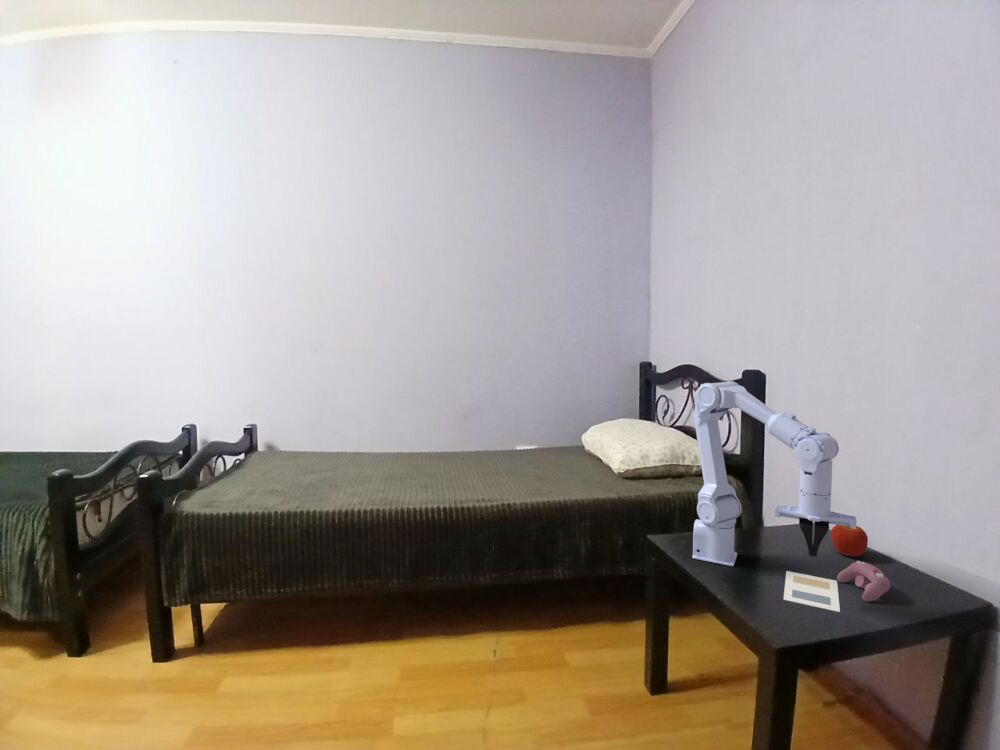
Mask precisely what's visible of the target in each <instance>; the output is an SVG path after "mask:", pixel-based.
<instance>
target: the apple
mask: <svg viewBox="0 0 1000 750" xmlns="http://www.w3.org/2000/svg"><path fill="white" fill-rule="evenodd" d="M830 539H831V542H832V545H833V546H834V549H835V551H837V552H838V553H840V554H841V555H844V556H847V557H852V558H858V557H861V556H862V555H863V554H864V553H865V551H866V550H867V548H868V543H869V541H868V540H869V537H868V534H867V533H866V531H864V529H863V528H862V527H861V526H858V525H856V529H855V528H850V527H849V526H842V525H834V526H833V527H832V528H831V530H830Z"/></svg>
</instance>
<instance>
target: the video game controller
mask: <svg viewBox="0 0 1000 750" xmlns="http://www.w3.org/2000/svg"><path fill="white" fill-rule="evenodd" d="M836 579H837V580H836V581H837V582H839V583H848V582H850V581H852V580H855V581H854V584H855V586H856V587H859V589H860V588H861V589H864V591H863V592H862V595H861V598H862V600H863V601H864V602H868V603H869V602H874V601H876V600H878V599H879V598H880V597H882V596H883V595H884V594H885V593H888V591H889V590H890V589H891V581H890V579H889V578H888V577H886V575H885V574H884V572H883V571H882V570H881V569H879V568H878V567H877V566H875V565H873V564H870V563H867V562H864V561H860V560H856V562H853V563H851V564H850V565H849V566H848V567H846V568H844V569H843V570H841V571H840V572H838V574H837V578H836ZM869 581H870V582H869Z"/></svg>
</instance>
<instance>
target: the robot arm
mask: <svg viewBox="0 0 1000 750" xmlns="http://www.w3.org/2000/svg"><path fill="white" fill-rule="evenodd" d="M693 395H694V396H693V397H694V403H695V405H694V410H693V420H694V429H695V433H696V434H695V435H696V440H697V447H698V453H699V459H700V460H699V461H700V467H701V470H702V471H701V472H702V478H703V486H702V487H701V489H700V490H699V492H698V494H697V500H698V501H697V506H696V513H697V516H698V518H699V519H695V520H694V523H693V533H692V534H693V535H692V536H693V537H692V538H693V539H692V559H694V560H699V561H704V562H710V563H715V564H720V565H724V566H729V567H734V566H735V562H736V560H737V556H738V553H737V552H735V527H736V526H735V525H736V523H737V518H738V517H740V516H741V513H742V510H743V507H742V504H741V501H740V500H739V497H738V496H737V492H736V489H735V488H734V487H733V486H732V485H731V484H730V483H728V477H727V469H726V464H725V463H726V462H725V457H724V451H723V444H722V438H721V432H720V426H719V420H720V418H722V416H723V415H724V414H726V412H727V411H729V410H731V409H739V410H740V411H742V412H744V413H745V414H747V415H749V416H751V417H752V418H754V419H756V420H758V421H759V422H760V423H763V424H764V425H765V426H767V430H768V433H769V435H771V436H773V437H774V438H775V439H777V440H779V441H780V442H781V443H783V444H785V446H787V447H789V448H791V449H792V450H793V451H794V454H795V456H796V458H797V459H798V462H799V465H798V466H799V484H798V485H799V487H798V506H790V505H789V506H786V505H777V504H775V506H774V517H776V518H777V517H778V518H781V517H782V518H790V519H795V520H796V519H797V520H798V521H799V522H798V524H799V525H798V526H799V527H800V530H801V531H802V534H803V536H804V539H805V543H806V546H807V550H808V556H809V557H814V558H816V557H817V556H818V551H819V548H820V545H821V544H822V541H823V539H824V538H825V536H826V535H827V533H828V531H829V530H830V525H834V526H836V525H842V526H849V527H850V528H855V529H856V526H857V517H856V516H855V515H850V514H849V515H848V514H845V513H844V514H843V513H839V512H835V511H831V509H832V508H831V507H832V505H831V504H832V502H831V501H832V485H833V484H832V483H833V482H832V481H833V459H835V458H836V457H837V456H838V453H839V449H840V447H839V443H838V442H837V440H836V438H834V436H832V435H831V434H830V433H828V432H824V431H823V432H822V431H820V432H818V431H816V430H817V429H816V428H814V427H813V426H809V425H807V424H806V423H804V422H801V421H800V420H799V419H797V415H796V414H794V413H792V412H791V413H788V412H780V413H778V412H776V411H774V410H773V408H771V407H769V406H768V405H766V404H765V403H763V401H761V400H759V399H758V398H756V397H755V396H754V395H753V394H751V393H750V392H748V391H747V389H746V388H745V386H742V385H739V383H737V382H735V381H732V380H729V381H723V382H721V381H720V382H712V383H711V382H704V383H702V384H701V385H700V386H699V387H698V388H697V389H696V391H695V392H694V393H693ZM813 524H814V525H813ZM813 526H814V527H813ZM813 530H814V532H813ZM813 533H814V536H813Z"/></svg>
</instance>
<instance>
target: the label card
mask: <svg viewBox="0 0 1000 750" xmlns="http://www.w3.org/2000/svg"><path fill="white" fill-rule="evenodd" d="M783 591H784V592H783V600H784V601H788V602H792V603H796V604H801V605H805V606H811V607H815V608H819V609H824V610H827V611H828V610H829V611H833V612H837V613H841V608H840V607H841V605H840V598H839V587H838V580H836V579H830V578H824V577H819V576H815V575H810V574H805V573H798V572H795V571H789V570H786V573H785V581H784V589H783Z"/></svg>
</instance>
